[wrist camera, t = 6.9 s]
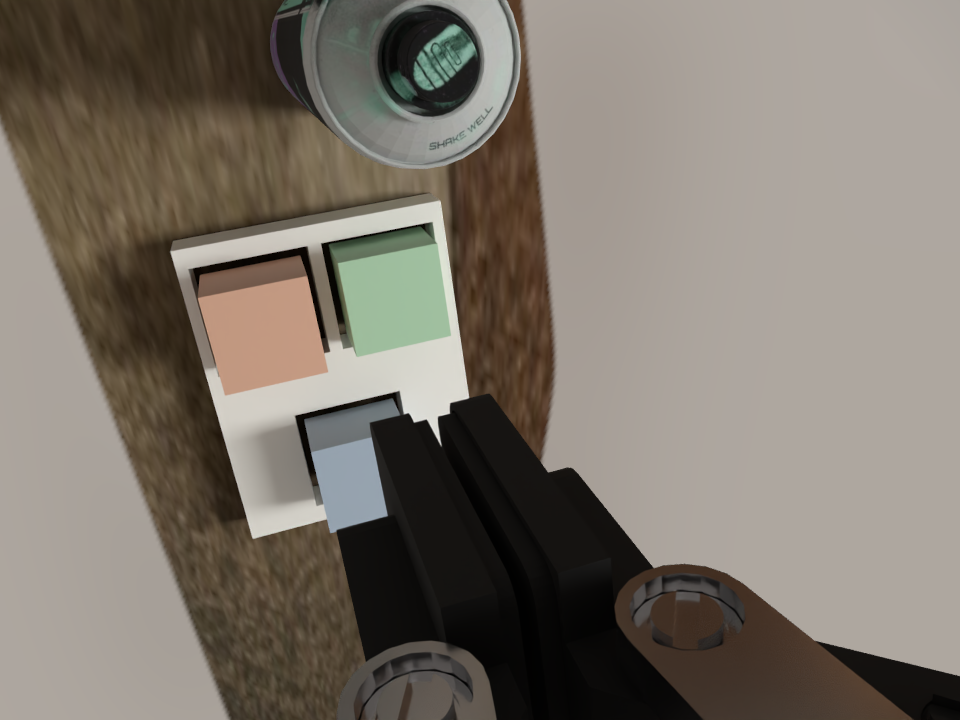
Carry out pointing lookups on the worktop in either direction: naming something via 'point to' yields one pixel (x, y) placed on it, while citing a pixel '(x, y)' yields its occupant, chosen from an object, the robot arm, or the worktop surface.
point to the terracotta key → (261, 324)
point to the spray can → (401, 73)
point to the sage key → (390, 290)
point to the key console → (271, 410)
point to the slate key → (348, 463)
